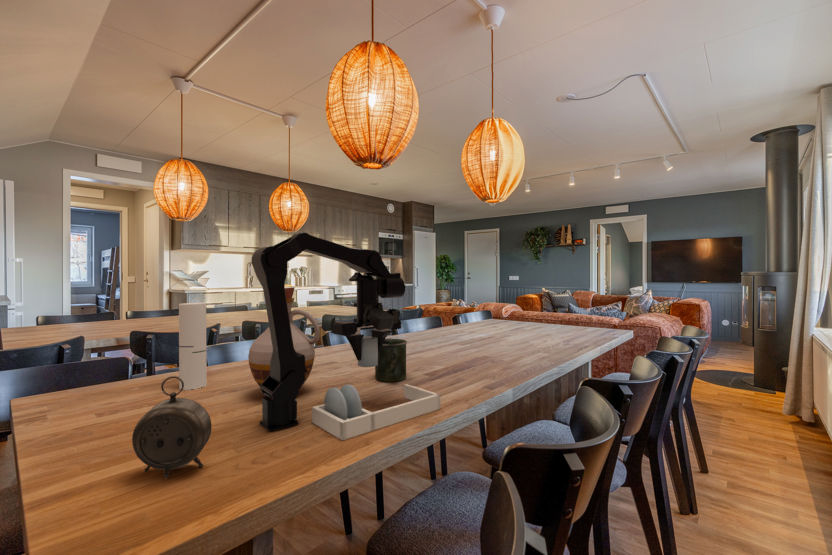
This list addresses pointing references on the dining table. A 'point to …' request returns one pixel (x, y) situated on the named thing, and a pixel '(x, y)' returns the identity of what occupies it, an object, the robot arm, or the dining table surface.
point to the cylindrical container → (192, 345)
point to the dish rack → (352, 420)
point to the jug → (302, 344)
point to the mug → (392, 361)
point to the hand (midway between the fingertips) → (368, 358)
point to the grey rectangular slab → (369, 352)
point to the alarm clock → (172, 433)
